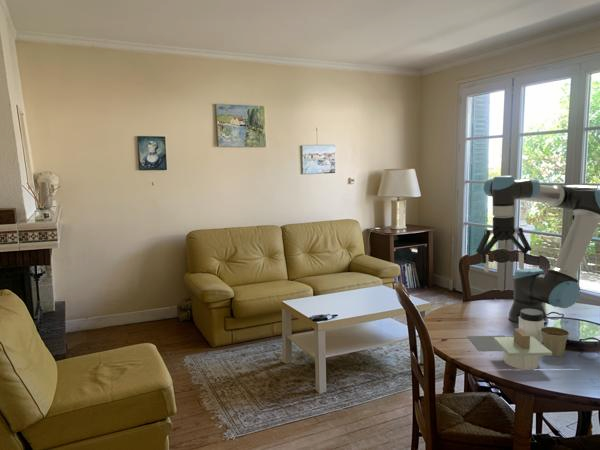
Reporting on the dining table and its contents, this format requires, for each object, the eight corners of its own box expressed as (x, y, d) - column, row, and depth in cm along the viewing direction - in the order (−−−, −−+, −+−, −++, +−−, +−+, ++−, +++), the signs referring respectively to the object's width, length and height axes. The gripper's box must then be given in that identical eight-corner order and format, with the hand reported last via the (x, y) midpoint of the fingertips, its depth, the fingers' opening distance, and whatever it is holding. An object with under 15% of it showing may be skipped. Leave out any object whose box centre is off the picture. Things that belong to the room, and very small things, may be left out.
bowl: (530, 356, 161) (530, 340, 161) (544, 370, 150) (545, 353, 150) (499, 356, 162) (499, 341, 161) (511, 370, 151) (511, 353, 150)
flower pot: (533, 349, 167) (534, 327, 166) (557, 347, 168) (558, 325, 167) (549, 360, 158) (550, 336, 157) (574, 358, 159) (575, 334, 158)
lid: (532, 339, 162) (533, 324, 161) (552, 355, 148) (552, 339, 147) (493, 339, 163) (493, 325, 162) (509, 355, 149) (509, 340, 148)
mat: (504, 336, 180) (504, 335, 180) (519, 352, 165) (519, 350, 165) (466, 337, 181) (466, 336, 181) (478, 352, 167) (478, 351, 166)
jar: (532, 346, 170) (533, 316, 168) (514, 339, 177) (514, 310, 175) (547, 342, 173) (548, 312, 172) (529, 335, 181) (530, 307, 179)
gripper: (531, 212, 174) (530, 265, 177) (467, 217, 174) (468, 269, 177) (541, 215, 166) (540, 270, 169) (474, 219, 167) (475, 274, 170)
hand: (503, 270), depth 173 cm, fingers open, 13 cm apart
